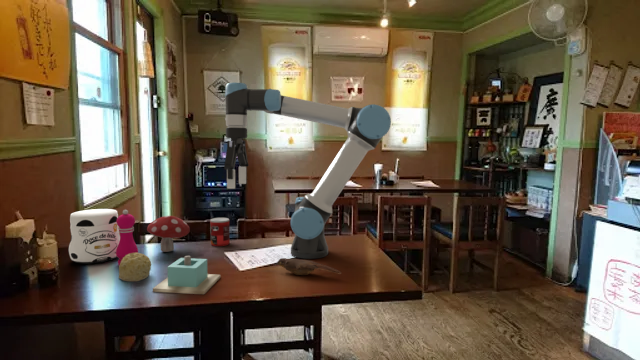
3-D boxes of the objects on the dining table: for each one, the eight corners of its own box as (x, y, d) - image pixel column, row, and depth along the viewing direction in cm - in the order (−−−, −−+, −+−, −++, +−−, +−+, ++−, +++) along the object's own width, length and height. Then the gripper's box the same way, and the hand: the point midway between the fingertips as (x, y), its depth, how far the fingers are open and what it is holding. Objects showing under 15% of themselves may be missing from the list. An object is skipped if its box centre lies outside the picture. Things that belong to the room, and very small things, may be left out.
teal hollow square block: (207, 276, 129) (207, 259, 128) (196, 287, 120) (195, 268, 119) (181, 275, 130) (180, 257, 129) (167, 285, 121) (167, 266, 120)
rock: (148, 281, 137) (139, 254, 139) (159, 272, 129) (149, 244, 131) (119, 291, 130) (110, 262, 132) (129, 282, 122) (119, 252, 124)
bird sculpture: (338, 283, 127) (339, 268, 127) (268, 274, 135) (268, 259, 135) (344, 276, 133) (344, 262, 133) (276, 268, 141) (276, 254, 141)
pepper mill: (142, 261, 147) (140, 208, 144) (131, 267, 140) (129, 212, 137) (124, 260, 147) (121, 207, 145) (112, 266, 140) (109, 211, 138)
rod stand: (220, 277, 131) (220, 251, 130) (204, 294, 117) (203, 265, 116) (174, 275, 132) (173, 249, 131) (152, 291, 119) (151, 262, 118)
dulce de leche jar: (100, 269, 138) (98, 218, 136) (57, 265, 141) (54, 216, 139) (132, 254, 155) (130, 209, 153) (93, 251, 158) (91, 207, 156)
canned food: (209, 242, 173) (209, 218, 172) (227, 241, 176) (227, 217, 175) (212, 247, 166) (211, 221, 165) (231, 245, 169) (230, 220, 168)
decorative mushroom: (193, 246, 167) (192, 211, 166) (186, 257, 152) (185, 219, 150) (154, 247, 165) (153, 211, 164) (142, 258, 150) (141, 219, 148)
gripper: (236, 127, 154) (237, 181, 156) (213, 126, 129) (214, 190, 132) (255, 128, 153) (256, 182, 156) (236, 126, 128) (236, 190, 131)
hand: (237, 186), depth 144 cm, fingers open, 13 cm apart
